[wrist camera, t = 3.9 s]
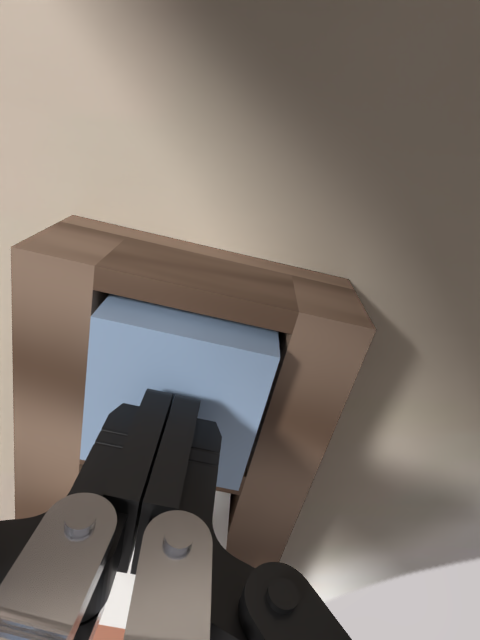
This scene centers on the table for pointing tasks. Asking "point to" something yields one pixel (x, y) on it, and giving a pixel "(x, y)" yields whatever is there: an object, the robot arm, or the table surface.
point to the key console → (195, 296)
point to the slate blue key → (180, 371)
